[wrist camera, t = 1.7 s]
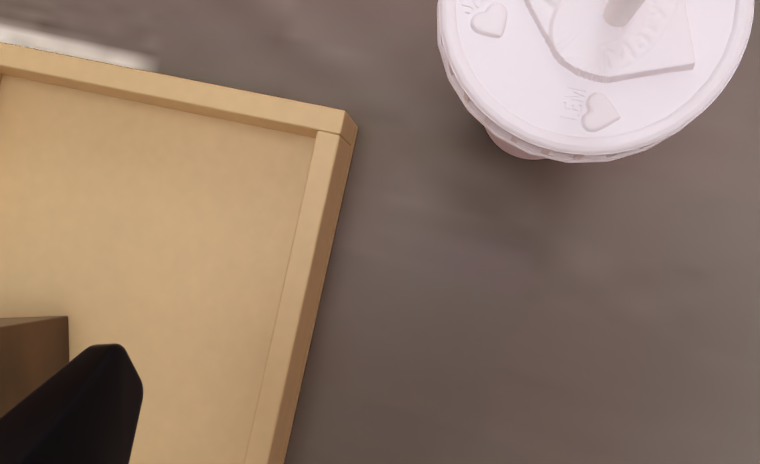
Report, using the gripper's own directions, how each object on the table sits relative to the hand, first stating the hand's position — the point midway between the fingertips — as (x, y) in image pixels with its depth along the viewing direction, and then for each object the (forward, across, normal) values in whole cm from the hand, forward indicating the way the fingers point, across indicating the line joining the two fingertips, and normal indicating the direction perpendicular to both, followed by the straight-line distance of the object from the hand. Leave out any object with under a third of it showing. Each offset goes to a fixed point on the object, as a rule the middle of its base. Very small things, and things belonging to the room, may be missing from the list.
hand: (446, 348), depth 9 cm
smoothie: (+15, -3, +4) cm, 16 cm away
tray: (+12, +12, +8) cm, 19 cm away
